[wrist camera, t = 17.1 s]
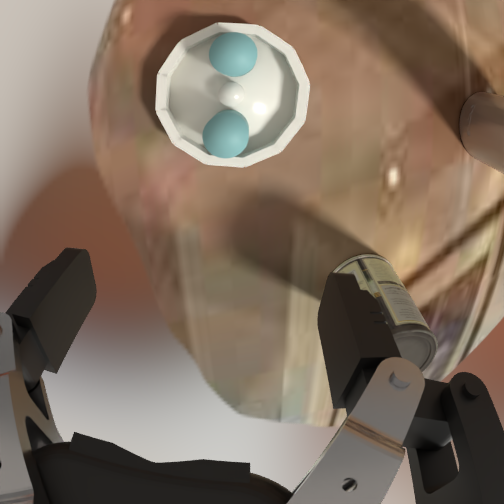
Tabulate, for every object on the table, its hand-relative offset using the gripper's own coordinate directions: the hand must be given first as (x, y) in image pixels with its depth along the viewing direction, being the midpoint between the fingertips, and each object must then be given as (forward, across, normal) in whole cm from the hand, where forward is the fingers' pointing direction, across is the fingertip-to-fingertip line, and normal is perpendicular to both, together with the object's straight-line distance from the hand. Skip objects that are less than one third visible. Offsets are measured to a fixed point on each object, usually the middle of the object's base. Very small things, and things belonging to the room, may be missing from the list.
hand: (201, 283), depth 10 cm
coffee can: (+25, -18, +17) cm, 35 cm away
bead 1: (+24, +1, -9) cm, 25 cm away
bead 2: (+24, +1, -1) cm, 24 cm away
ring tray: (+24, +1, -5) cm, 25 cm away
